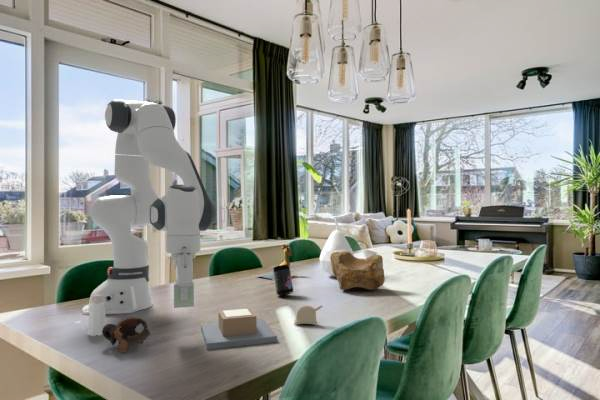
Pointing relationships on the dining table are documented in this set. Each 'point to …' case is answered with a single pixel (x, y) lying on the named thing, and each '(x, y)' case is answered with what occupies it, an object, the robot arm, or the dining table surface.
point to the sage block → (177, 297)
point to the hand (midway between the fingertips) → (183, 296)
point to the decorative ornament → (306, 315)
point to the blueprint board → (236, 339)
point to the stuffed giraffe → (286, 262)
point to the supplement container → (283, 280)
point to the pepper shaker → (96, 316)
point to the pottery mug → (126, 333)
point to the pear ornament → (334, 248)
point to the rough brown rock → (357, 271)
